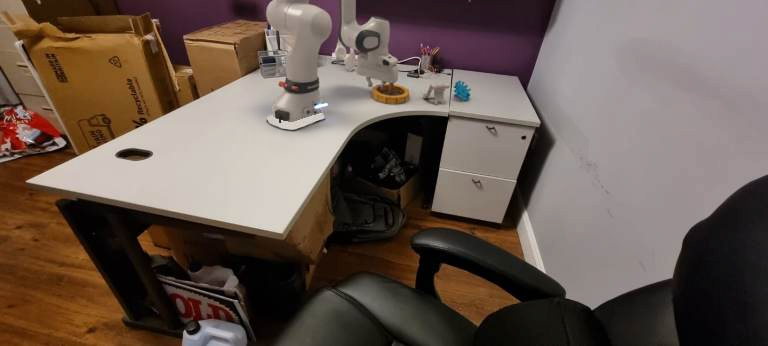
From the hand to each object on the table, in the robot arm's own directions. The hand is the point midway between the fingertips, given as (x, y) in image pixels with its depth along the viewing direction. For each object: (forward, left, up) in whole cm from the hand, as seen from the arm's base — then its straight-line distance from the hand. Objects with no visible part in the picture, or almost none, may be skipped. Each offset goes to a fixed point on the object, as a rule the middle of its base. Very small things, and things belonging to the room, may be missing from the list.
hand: (375, 88), depth 149 cm
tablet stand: (+9, -26, -2) cm, 28 cm away
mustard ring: (0, -8, -2) cm, 8 cm away
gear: (+20, -35, -2) cm, 41 cm away
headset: (+23, +33, -2) cm, 40 cm away
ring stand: (0, -8, -2) cm, 8 cm away
